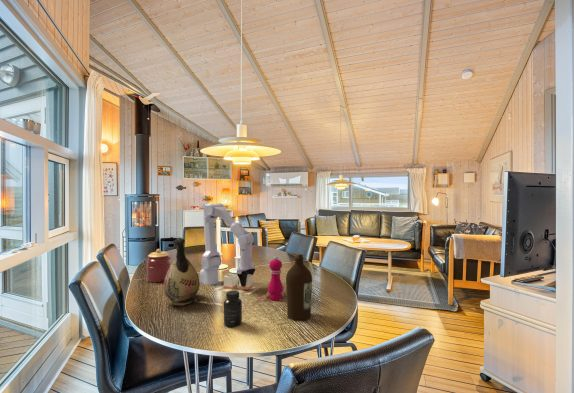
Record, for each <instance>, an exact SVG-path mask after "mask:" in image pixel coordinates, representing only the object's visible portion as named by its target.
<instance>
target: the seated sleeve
mask: <svg viewBox="0 0 574 393" xmlns="http://www.w3.org/2000/svg"><path fill="white" fill-rule="evenodd" d="M238 280H239V277H238V275H237V274H232V273H229V274H226V275H224V276H223V285H224V288H225V289H234V288H236V287H238V282H239V281H238Z"/></svg>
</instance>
